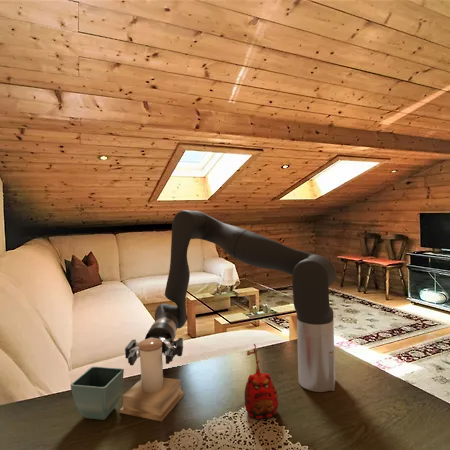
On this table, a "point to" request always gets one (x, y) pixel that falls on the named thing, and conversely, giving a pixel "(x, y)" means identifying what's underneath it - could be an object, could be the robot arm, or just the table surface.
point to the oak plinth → (152, 400)
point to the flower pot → (97, 391)
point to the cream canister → (151, 365)
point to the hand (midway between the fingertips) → (149, 360)
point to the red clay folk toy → (260, 394)
